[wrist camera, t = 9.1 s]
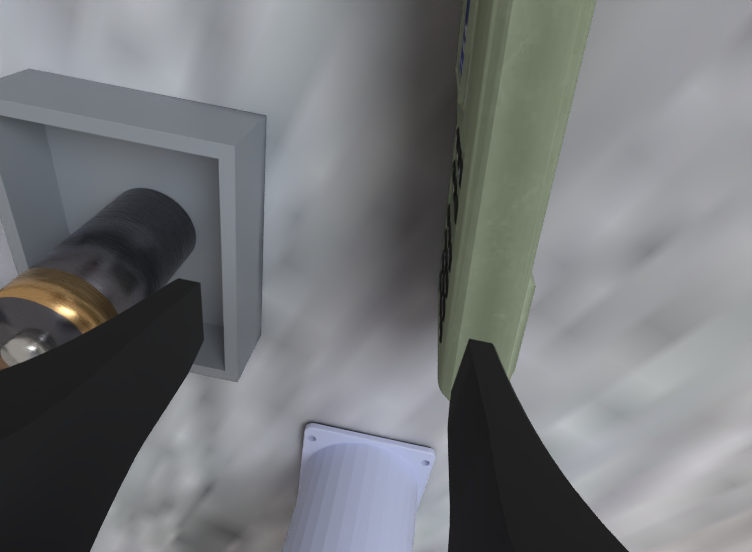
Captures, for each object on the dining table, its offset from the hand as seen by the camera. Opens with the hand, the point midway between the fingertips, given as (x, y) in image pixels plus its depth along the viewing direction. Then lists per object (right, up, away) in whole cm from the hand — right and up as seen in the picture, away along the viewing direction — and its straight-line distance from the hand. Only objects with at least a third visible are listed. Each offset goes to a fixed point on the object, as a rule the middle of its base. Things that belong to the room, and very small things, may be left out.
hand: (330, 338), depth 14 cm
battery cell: (-9, +4, +10) cm, 14 cm away
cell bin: (-9, +4, +11) cm, 15 cm away
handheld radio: (+6, +11, +4) cm, 13 cm away
